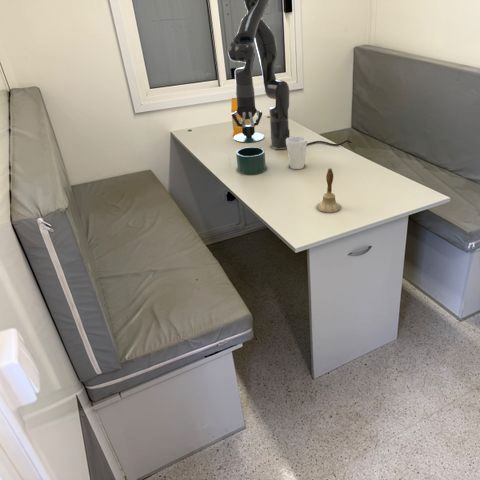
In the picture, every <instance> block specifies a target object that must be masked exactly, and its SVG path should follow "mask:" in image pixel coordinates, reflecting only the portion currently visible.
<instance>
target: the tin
mask: <svg viewBox="0 0 480 480" xmlns="http://www.w3.org/2000/svg"><path fill="white" fill-rule="evenodd" d="M235 155H236V164H237V171H238V172H239V173H241V175H242V174H243V175H247V176H253V175H258V174H261V173H264V171H266V168H267V167H266V152H265V149H264V148H261V147H258V146H246V147H242V148H239V149H238V150H236V151H235Z"/></svg>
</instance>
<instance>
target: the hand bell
mask: <svg viewBox="0 0 480 480" xmlns="http://www.w3.org/2000/svg"><path fill="white" fill-rule="evenodd" d="M325 177H326V179H325V180H326V185H327V187H326V192H325V193H323V196H322V199H321V202H320V203H319V204H318V206H317V209H318V210H319V211H321V212H322V213H328V214H329V213H336V212H338V211H339V210H340V205H339V204H338V202H337V200H336V194H335V193H333V192H332V185H333V181H334V173H333V169H332V168H328V169H327V172H326V176H325Z"/></svg>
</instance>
